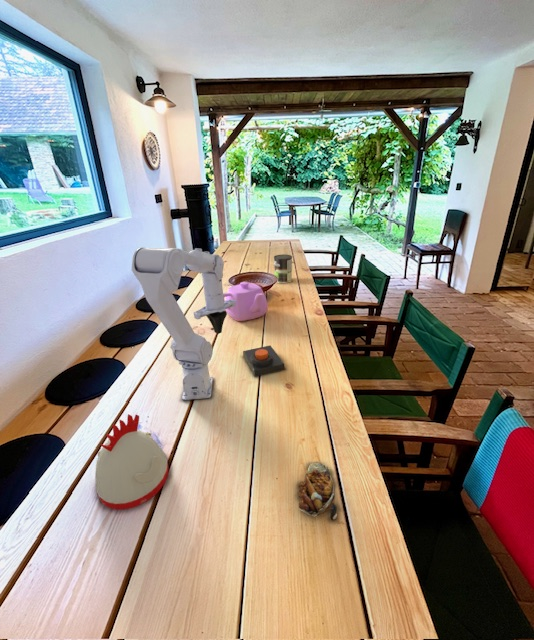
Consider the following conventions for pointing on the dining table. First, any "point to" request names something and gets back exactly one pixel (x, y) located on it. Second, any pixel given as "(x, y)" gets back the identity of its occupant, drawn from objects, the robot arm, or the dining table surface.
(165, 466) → the kitchen timer
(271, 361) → the switch
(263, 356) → the button
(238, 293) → the teapot
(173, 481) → the dining table surface
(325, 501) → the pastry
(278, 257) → the coffee can
